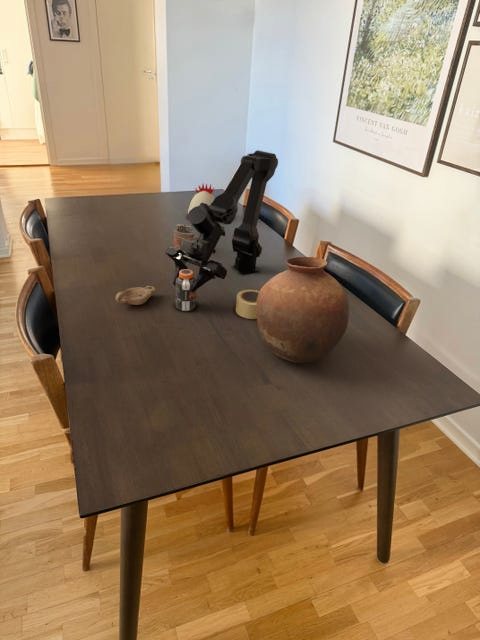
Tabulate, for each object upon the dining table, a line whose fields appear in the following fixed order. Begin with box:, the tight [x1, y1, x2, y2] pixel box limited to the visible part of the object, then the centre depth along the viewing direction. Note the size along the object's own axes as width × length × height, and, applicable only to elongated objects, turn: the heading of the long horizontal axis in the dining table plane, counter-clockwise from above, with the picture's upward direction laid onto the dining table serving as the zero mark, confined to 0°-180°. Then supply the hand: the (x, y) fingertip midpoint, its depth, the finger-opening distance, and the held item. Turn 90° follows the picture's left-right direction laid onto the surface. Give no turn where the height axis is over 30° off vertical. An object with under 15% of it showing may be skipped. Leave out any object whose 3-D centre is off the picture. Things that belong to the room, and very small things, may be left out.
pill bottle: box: [175, 268, 197, 312], centre depth 129 cm, size 6×6×11 cm
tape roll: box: [235, 289, 260, 320], centre depth 131 cm, size 9×9×5 cm
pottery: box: [256, 256, 350, 364], centre depth 111 cm, size 23×23×25 cm
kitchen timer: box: [187, 183, 216, 214], centre depth 195 cm, size 14×14×15 cm
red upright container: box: [173, 223, 195, 254], centre depth 163 cm, size 8×3×10 cm, turn 68°
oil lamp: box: [115, 285, 156, 306], centre depth 130 cm, size 13×8×5 cm, turn 134°
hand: (182, 288), depth 127 cm, fingers closed on pill bottle, 6 cm apart
